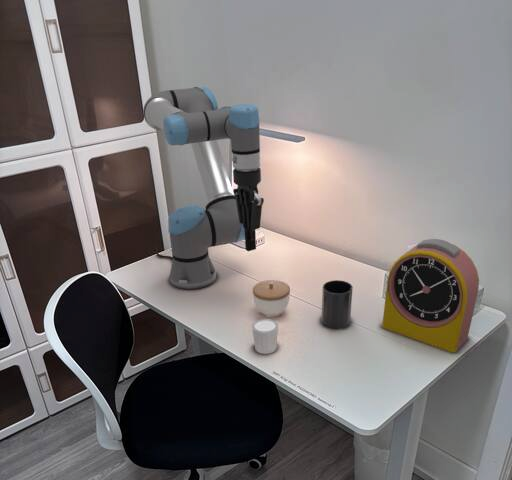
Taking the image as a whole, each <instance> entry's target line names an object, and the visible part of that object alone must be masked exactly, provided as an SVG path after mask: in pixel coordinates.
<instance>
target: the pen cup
mask: <svg viewBox="0 0 512 480" xmlns="http://www.w3.org/2000/svg"><path fill="white" fill-rule="evenodd" d="M353 288H354V287H353V285H352V284H351V283H350V282H348V281H345V280H339V279H336V280H330V281H327V282H325V283H324V284H323V286H322V291H321V293H322V295H321V323H322V325H323V326H324V327H326V328H328V329H333V330H339V329H345V328H347V327H348V326H350V324H351V317H352V302H353V290H354V289H353Z"/></svg>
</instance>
